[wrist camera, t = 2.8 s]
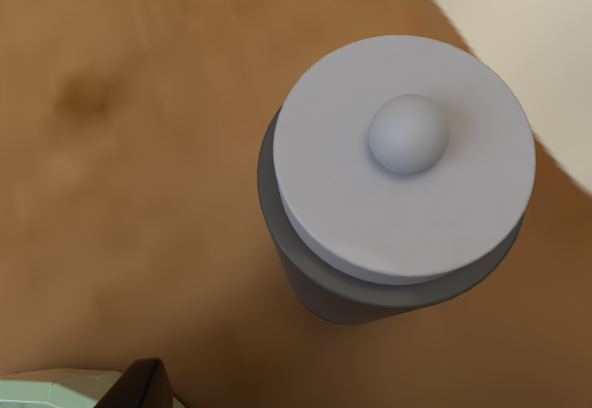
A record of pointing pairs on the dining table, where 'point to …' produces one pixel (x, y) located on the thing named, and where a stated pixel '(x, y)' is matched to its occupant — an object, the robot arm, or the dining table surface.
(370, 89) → the pepper mill
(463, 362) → the dining table surface
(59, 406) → the bowl
